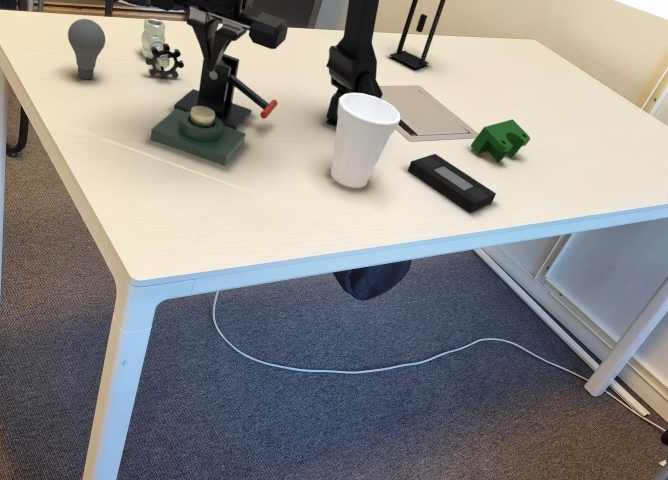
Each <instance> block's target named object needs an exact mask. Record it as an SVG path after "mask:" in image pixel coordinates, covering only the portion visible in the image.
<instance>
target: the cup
mask: <svg viewBox="0 0 668 480" xmlns="http://www.w3.org/2000/svg"><path fill="white" fill-rule="evenodd" d="M400 113H401V112H399V110H398V109H397V108H396V107H395V106H394V105H392V104H391V103H389V102H388V101H386V100H383V99H382V98H381V99H379V98H377V97H374V96H371V95H367V94H362V93H348V94H344V95H343V96H341V97H340V98H339V104H338V121H337V127H336V129H335V138H334V145H333V152H332V161H331V168H330V176H331V178H332V179H333V180H334V181H336V182H337V183H338V184H339V185H343V186H345V187H348V188H353V189H354V188H355V189H358V188H359V189H360V188H363V187H365V186H366V185H368V181H369V179H370V178H371V175H372V173H373V172H374V169H375V167H376V165H377V163H378V161H379V159H380V157H381V155H382V152H383V151H384V149H385V147H386V144H387V143H388V141H389V139H390V137H391V135H392V134H393V133H395V131H396V130H397V129H398V126H399V124H400V122H401V114H400Z"/></svg>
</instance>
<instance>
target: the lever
mask: <svg viewBox="0 0 668 480" xmlns="http://www.w3.org/2000/svg"><path fill="white" fill-rule="evenodd" d="M219 62H220V63H222V64H225V65H228V66H230V65H229V64H227V63H226V62H225V61H224V60H222V59H221V60H220V61H219ZM231 70H232V67H231ZM230 72H231V71H230ZM229 82H230V83H231V84H232V85H233V86H235V88H236V89H237V90H238V91H240V92H241V93H242V94H243V95H244V96H246V97H247V98H248V99H249V100H251V101H252V102H253V103H255V104H256V105H257V106H258V107H259V108H261V109H262V111H261V112H260V114H259V116H260V119H265V120H266V119H267V118H268V117H269V116H270V114H271V113H272V112H273V111H274V110H275V109H276V107H277V106H278V101H277V99H271V100H270V101H269V102H267V101H266V100H265V99H264V98H262V97H261V96H260V95H259V94H257V93H256V92H255V91H254V90H252V89H251V87H249V86H248V85H246V84H245V83H244V82H243V81H242V80H240V79H239V78H238V77H235V76H234V75H233V74H231V73H230V77H229Z"/></svg>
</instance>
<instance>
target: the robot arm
mask: <svg viewBox="0 0 668 480" xmlns="http://www.w3.org/2000/svg"><path fill="white" fill-rule="evenodd" d="M147 3H148V5H149V6H151V7H154V8H157V9H159V10H162V11H165V12H169V11H171V10H173V9H174V8H176V5H177V6H181V7H183V8H186V9H189V18H187V19H186V25H188V26H189V27H191V28H192V30H193V33H194V35H195V38H196V39H197V43H198V45H199V47H200V50H201V54H202V58H203V59H204V61H205V65H206V68H207V71H210V72H213V71H214V70H215V69H216V67H217V65H218V63H219V61H220V60H221V58H222V56H223V54H225V53H226V51H227V48H228V47H229V46H230V44H231V43H232V42H236V41H238V40H239V39H240V38H242V37H243V36H244V35H245V34H247V31H248V37H249V38H250V41H251V42H252V44H256V45H257V46H258V45H259V46H262V47H264V48H266V49H270V50H276V49H277V48H278V47H279V46H281V44H282V43H284V42H285V41H286V40H287V39H286V38H287V34H288V30H289V27H288V23H287V22H286V19H284V18H280V17H278V16H276V15H272V14H270V13H267V12H263V11H262V12H261V13H260V14H258V15H257V16H256V17H255V16H252V15H249V14H247V13H243V12H242V10H243V11H246V10H247V9H252V6H253V3H254V0H147ZM379 3H380V0H348V3H347V10H346V18H345V25H344V32H343V36H342V38H341V39H340V40H339V41H338V43H337V44H336V45H331V46H330V47H329V49H328V59H327V63H326V68H328V74H329V76H330V84H331V86H333V87H335V88H336V89H337V90H335V93H334V92H333V94H332V96H331V98H330V102H329V104H328V105H329V106H328V109H327V113H326V118H327V120H326V122H325V123H326V124H327V125H329V126H333V127H336V128H337V121H338V104H339V98H340V97H341V96H343V95H344V94H348V93H362V94H367V95H371V96H374V97H377V98H379V99H382V97H383V91H382V88H381V87H380V85H379V83H378V81H377V69H378V60H377V55H376V53H375V50H374V49H375V48H374V46H373V37H374V32H375V27H376V21H377V20H376V19H377V16H378V15H377V14H378V9H379ZM220 21H221V25H222V26H220V28H219V25H220Z"/></svg>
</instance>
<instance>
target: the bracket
mask: <svg viewBox="0 0 668 480" xmlns="http://www.w3.org/2000/svg"><path fill="white" fill-rule="evenodd" d="M221 59H222V60H224V61H225V62H226V63H227V64H229V65H230V66H228V65H225V64H222V63H220V62H219V63H218V65H217V67H216V69H215V70H214V71H213V72H210V71H207V68H206V65H205V61H204V58H203V59H202V65H201V66H202V67H201V74H200V79H199V80H200V81H199V89H198V90H197V89H195V88H192V89H191V90H190V91H189V92H187V93H186V94H185V95H184V96H183V97H182V98H181V99H179V100H178V101H177V102H176V103H175V104H174V105H173V109H174V110H175V109H179V110H181V111H184V112H188V111H191V109H192V107H194V106H204V107H208V108H210V109H212V110H213V111H214V112H215V116H216V117H217V118H219V119H220V120H221V121H222V123H223V126H226V127H229V128H232V129H235V130H237V131H238V129H240V127H241V126H242V125H243V124H244V123H245V122H246V121H247V120H248V119H249V117H250V116H251V115H252V112H253V110H252V109H251V108H247V107H244V106H241V105H239V104H236V103H234V102H233V100H234V94H235V88H236V87H235V86H233V85H232V84H231V83H230V82H229V77H230V73H231V74H233V75H234V76H235V77H236V78H238V71H239V65H240V58H237V57H234V56H231V55H228V54H225V53H224V54H223V56H222V58H221ZM231 67H232V70H231ZM230 71H231V72H230Z"/></svg>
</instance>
